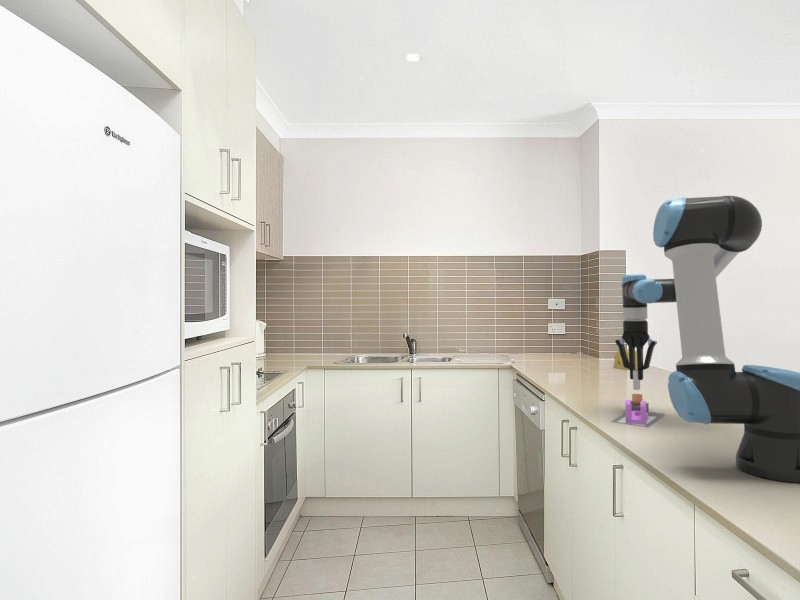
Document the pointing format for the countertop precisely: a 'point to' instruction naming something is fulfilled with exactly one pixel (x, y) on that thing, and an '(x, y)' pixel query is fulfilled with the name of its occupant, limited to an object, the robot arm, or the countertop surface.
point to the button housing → (637, 407)
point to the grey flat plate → (651, 419)
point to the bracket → (636, 413)
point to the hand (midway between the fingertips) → (636, 389)
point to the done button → (636, 399)
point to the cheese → (618, 360)
